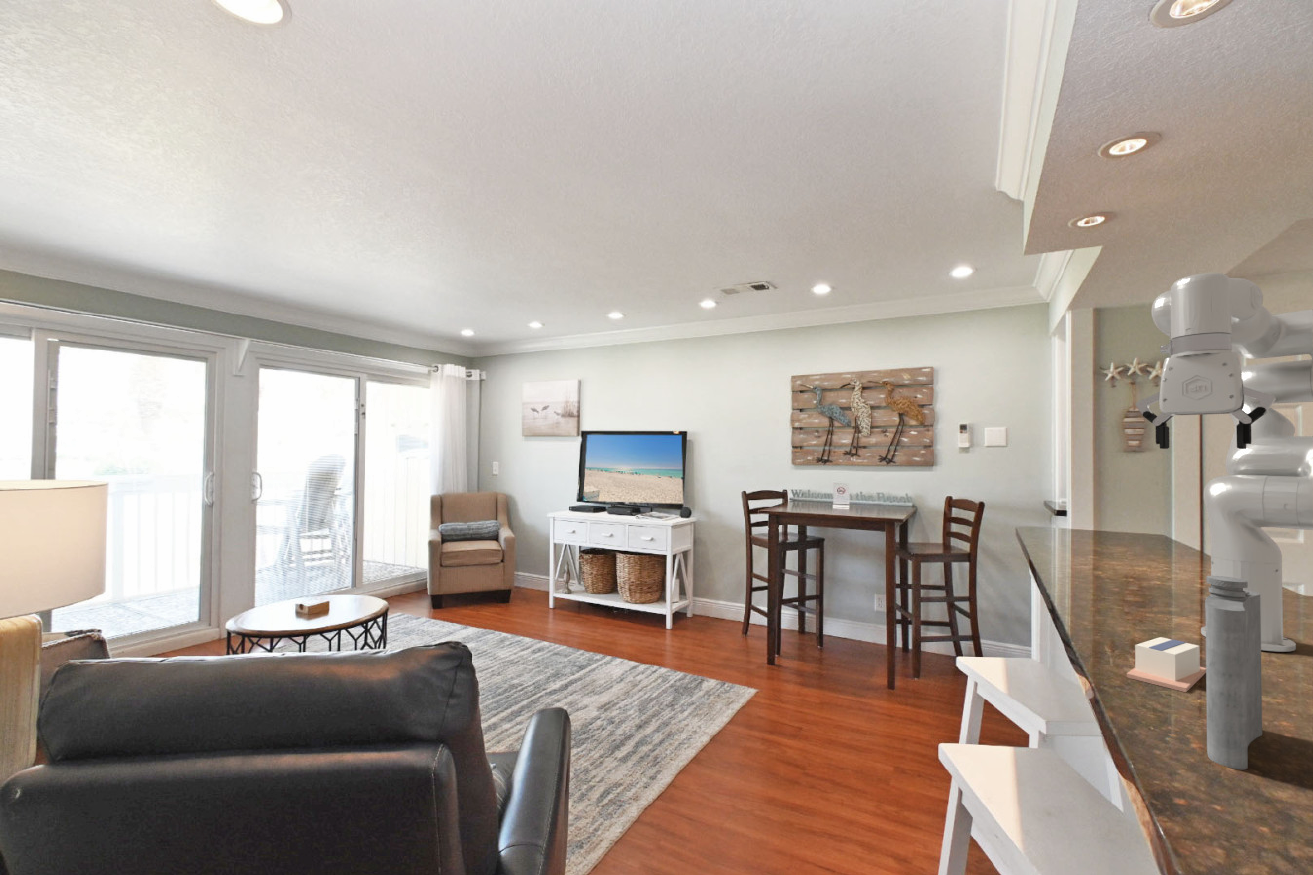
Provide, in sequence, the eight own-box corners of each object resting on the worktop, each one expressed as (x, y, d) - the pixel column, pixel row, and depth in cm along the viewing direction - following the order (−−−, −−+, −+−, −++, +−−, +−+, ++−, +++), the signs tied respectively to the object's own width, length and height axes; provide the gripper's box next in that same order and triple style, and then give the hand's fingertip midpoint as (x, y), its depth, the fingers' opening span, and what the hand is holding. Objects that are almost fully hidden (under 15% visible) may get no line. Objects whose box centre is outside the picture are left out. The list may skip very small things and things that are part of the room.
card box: (1135, 670, 92) (1135, 644, 92) (1160, 661, 97) (1160, 636, 97) (1175, 681, 88) (1174, 653, 88) (1199, 671, 92) (1199, 645, 92)
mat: (1151, 659, 99) (1151, 655, 99) (1206, 671, 94) (1206, 668, 94) (1126, 677, 91) (1126, 673, 91) (1186, 692, 85) (1186, 688, 85)
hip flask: (1245, 772, 63) (1243, 589, 64) (1195, 757, 67) (1193, 582, 67) (1263, 731, 73) (1261, 572, 74) (1219, 719, 76) (1217, 567, 77)
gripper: (1130, 352, 103) (1130, 448, 102) (1270, 337, 89) (1272, 448, 89) (1142, 357, 107) (1142, 449, 107) (1277, 344, 94) (1279, 449, 93)
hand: (1201, 448), depth 98 cm, fingers open, 9 cm apart
